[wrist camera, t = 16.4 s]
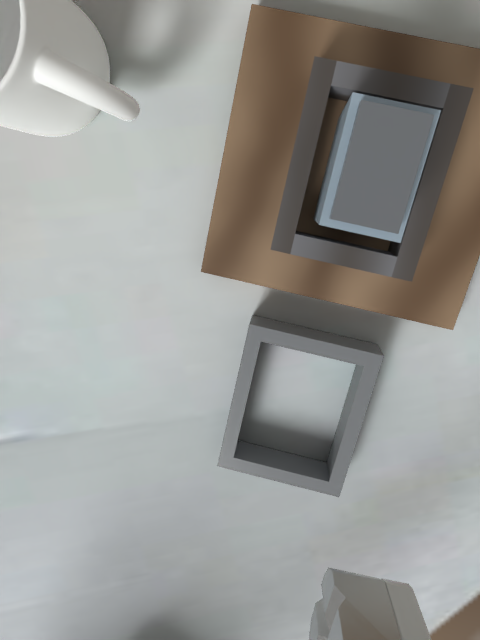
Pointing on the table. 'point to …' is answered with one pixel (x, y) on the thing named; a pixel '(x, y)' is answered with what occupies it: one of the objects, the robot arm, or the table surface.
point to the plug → (375, 166)
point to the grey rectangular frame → (350, 423)
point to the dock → (312, 156)
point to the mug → (54, 69)
